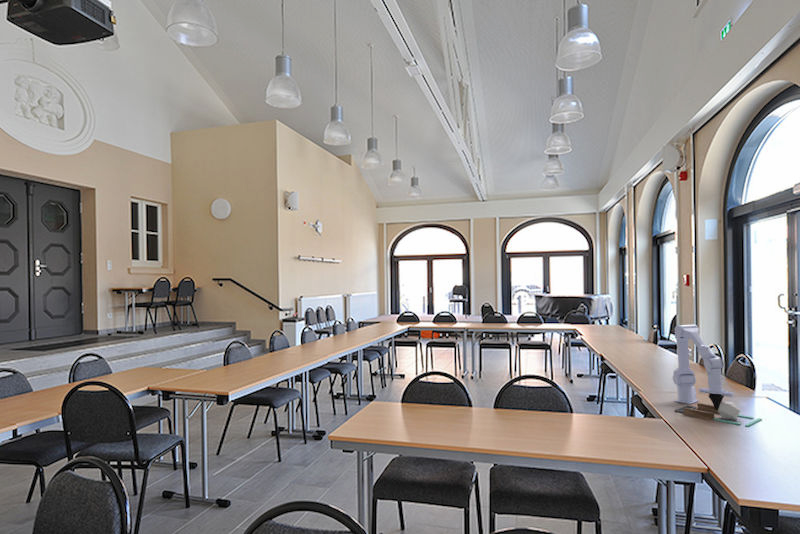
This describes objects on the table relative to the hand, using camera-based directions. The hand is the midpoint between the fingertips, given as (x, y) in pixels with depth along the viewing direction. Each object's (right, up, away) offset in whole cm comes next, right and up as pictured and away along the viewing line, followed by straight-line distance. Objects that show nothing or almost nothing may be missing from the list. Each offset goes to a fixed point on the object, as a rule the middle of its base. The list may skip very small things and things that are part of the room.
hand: (717, 409), depth 223 cm
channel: (-3, -4, +4) cm, 6 cm away
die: (+3, -3, -4) cm, 6 cm away
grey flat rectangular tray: (-8, -4, +12) cm, 15 cm away
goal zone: (+5, -3, -7) cm, 9 cm away
